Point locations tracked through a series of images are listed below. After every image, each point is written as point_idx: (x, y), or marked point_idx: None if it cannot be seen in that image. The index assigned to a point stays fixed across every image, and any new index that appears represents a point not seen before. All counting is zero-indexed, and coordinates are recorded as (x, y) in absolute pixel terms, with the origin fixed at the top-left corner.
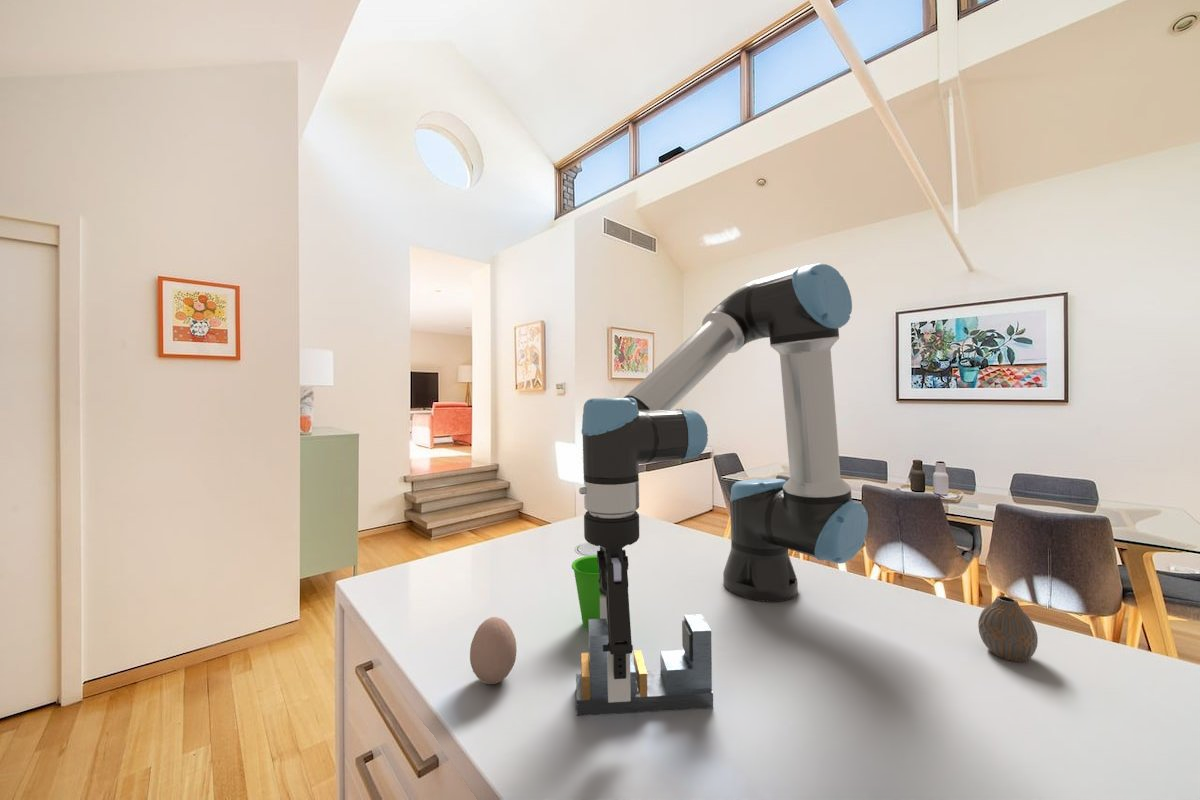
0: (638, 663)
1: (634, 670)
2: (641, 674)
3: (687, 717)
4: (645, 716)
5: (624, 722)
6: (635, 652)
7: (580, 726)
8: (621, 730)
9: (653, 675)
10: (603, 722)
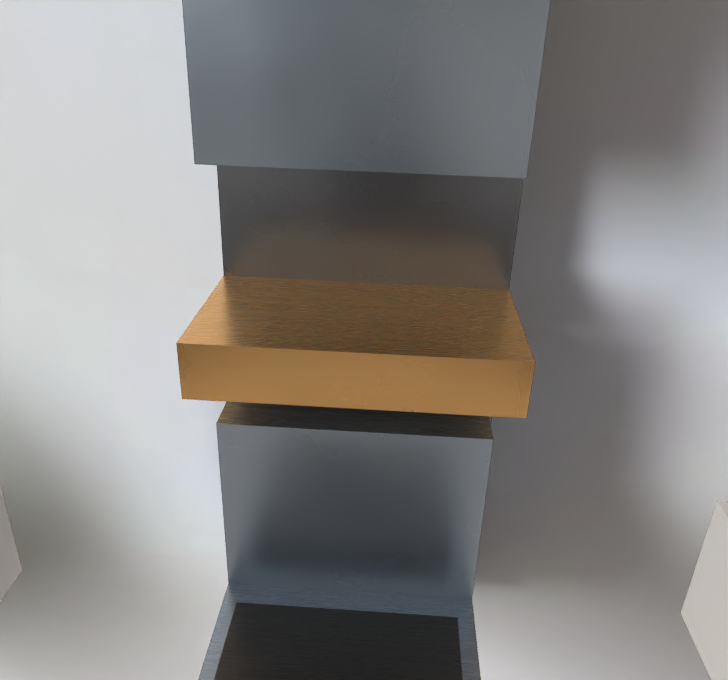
0: (378, 398)
1: (472, 445)
2: (525, 401)
3: (601, 6)
4: (528, 274)
5: (548, 388)
6: (215, 391)
7: (527, 566)
8: (600, 410)
9: (284, 197)
10: (524, 478)
